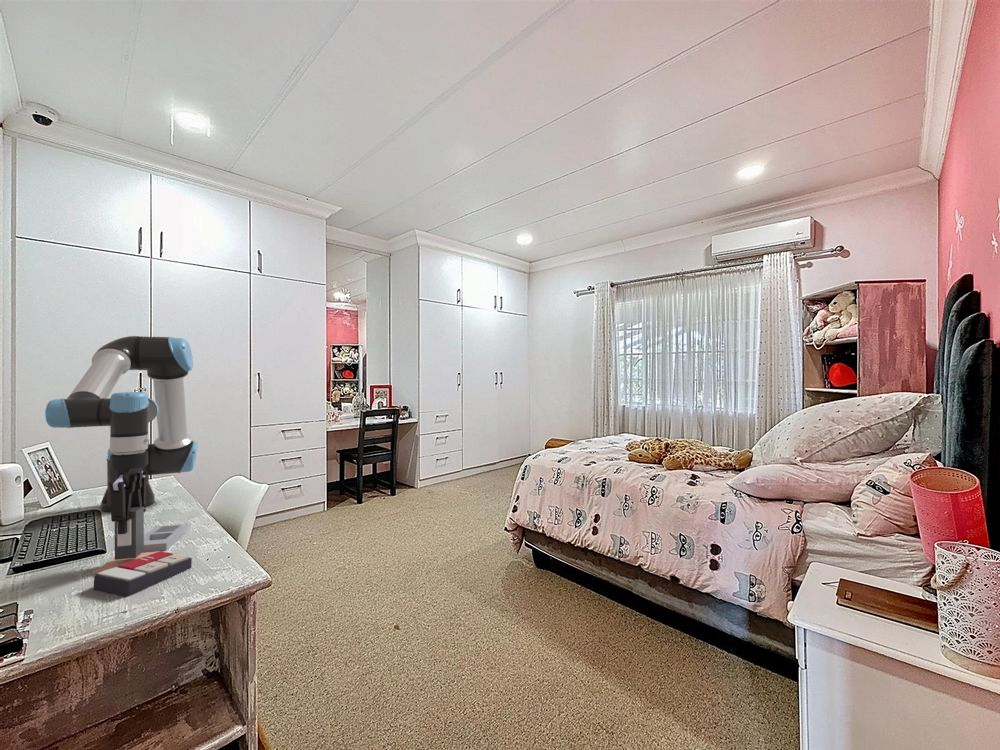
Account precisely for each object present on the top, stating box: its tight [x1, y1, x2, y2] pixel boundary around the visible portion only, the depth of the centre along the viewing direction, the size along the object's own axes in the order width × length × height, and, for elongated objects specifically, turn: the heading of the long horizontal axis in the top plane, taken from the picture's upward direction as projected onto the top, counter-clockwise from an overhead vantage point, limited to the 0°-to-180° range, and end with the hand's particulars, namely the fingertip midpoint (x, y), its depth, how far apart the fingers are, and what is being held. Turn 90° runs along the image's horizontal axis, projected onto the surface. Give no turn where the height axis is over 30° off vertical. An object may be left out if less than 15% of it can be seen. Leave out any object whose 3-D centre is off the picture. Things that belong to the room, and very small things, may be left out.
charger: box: [114, 507, 145, 560], centre depth 113 cm, size 4×4×12 cm
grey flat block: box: [143, 523, 191, 553], centre depth 127 cm, size 16×9×2 cm, turn 16°
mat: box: [93, 551, 160, 575], centre depth 113 cm, size 10×10×1 cm
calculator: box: [93, 551, 193, 598], centre depth 105 cm, size 11×4×15 cm
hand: (129, 541), depth 113 cm, fingers closed on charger, 4 cm apart
